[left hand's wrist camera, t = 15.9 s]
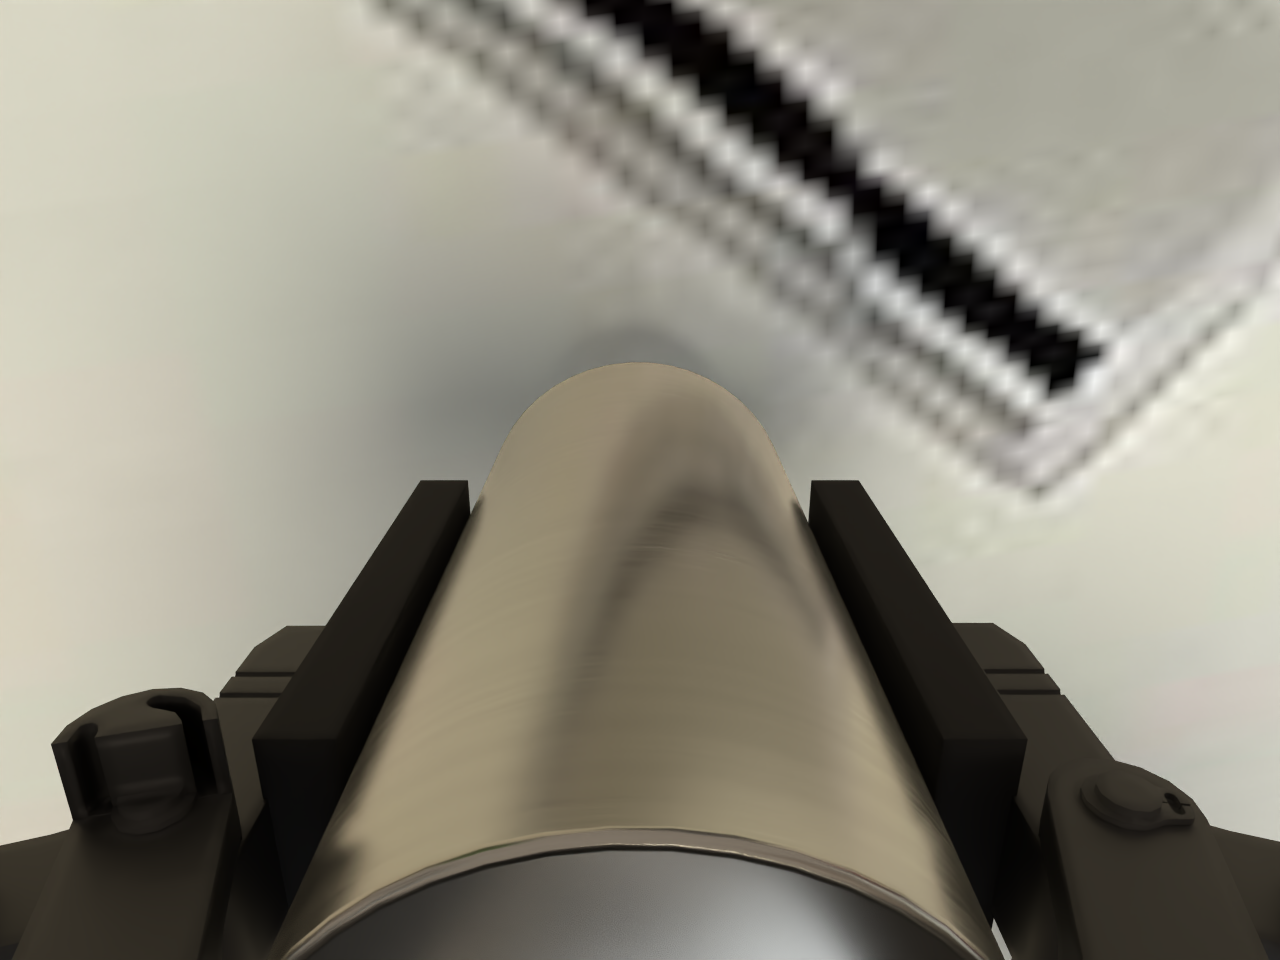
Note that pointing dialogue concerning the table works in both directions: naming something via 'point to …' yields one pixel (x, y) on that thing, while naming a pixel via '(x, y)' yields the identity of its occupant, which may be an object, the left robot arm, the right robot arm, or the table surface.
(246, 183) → the table surface
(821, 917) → the tin
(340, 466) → the table surface
